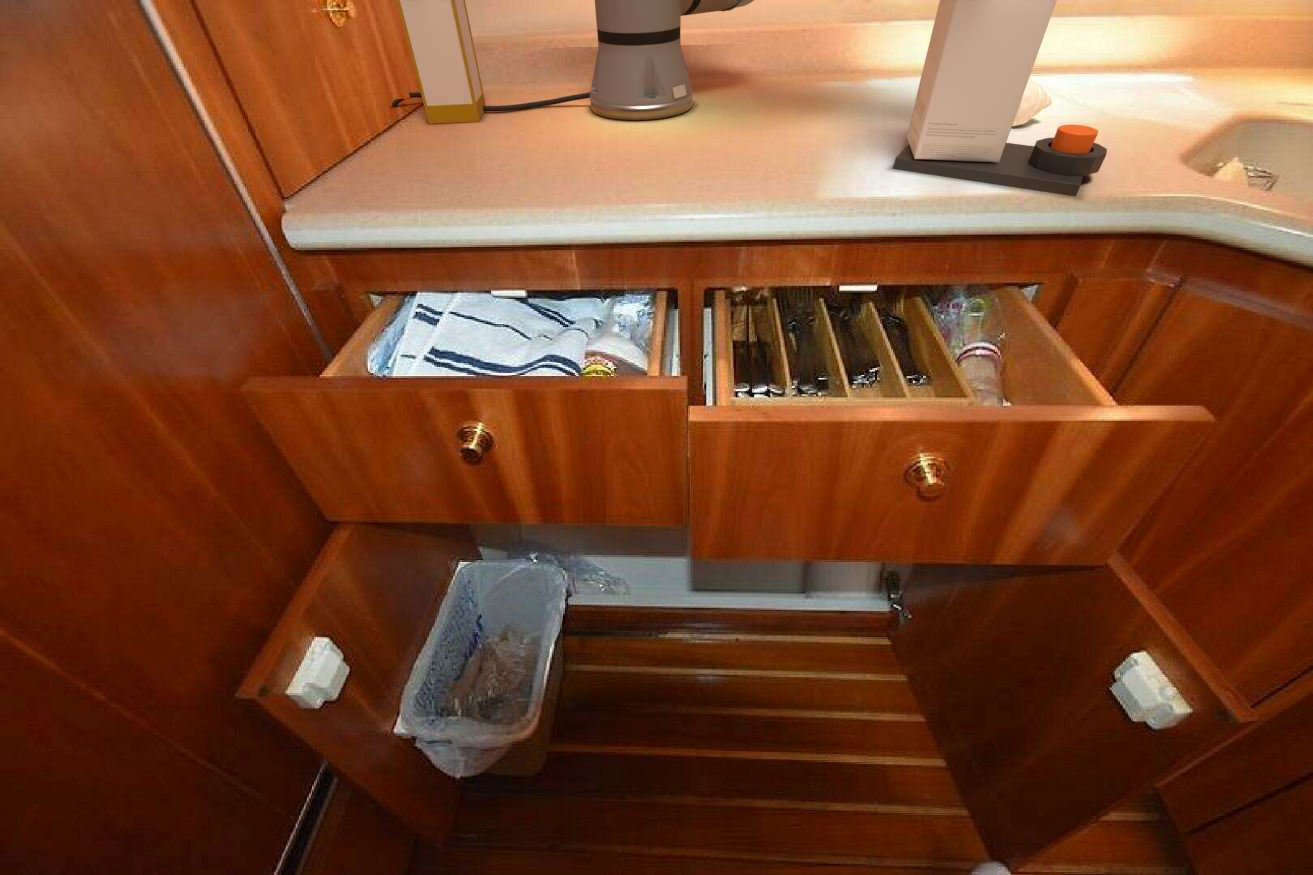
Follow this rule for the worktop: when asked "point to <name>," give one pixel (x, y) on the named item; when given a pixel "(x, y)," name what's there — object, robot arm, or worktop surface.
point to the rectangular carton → (975, 77)
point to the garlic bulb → (1031, 102)
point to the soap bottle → (443, 59)
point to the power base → (1016, 167)
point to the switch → (1074, 139)
